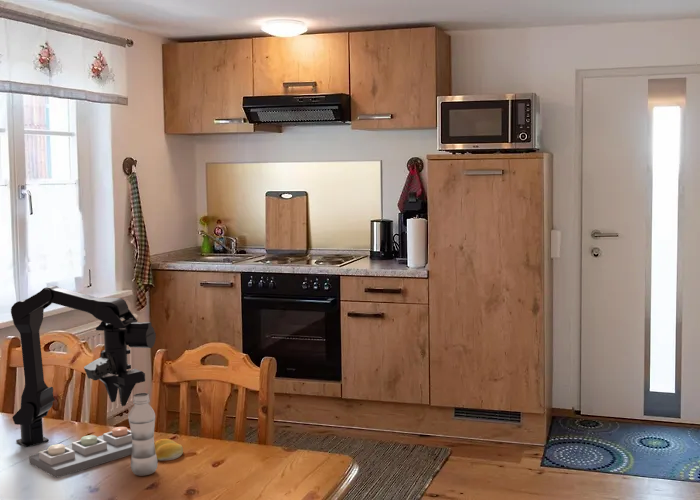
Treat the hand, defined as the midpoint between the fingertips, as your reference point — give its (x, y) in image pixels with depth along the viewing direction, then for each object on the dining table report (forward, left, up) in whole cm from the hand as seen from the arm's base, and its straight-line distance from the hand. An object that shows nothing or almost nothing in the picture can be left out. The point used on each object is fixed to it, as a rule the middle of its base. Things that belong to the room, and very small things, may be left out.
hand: (118, 403), depth 222 cm
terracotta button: (0, 0, -9) cm, 9 cm away
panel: (0, -9, -12) cm, 15 cm away
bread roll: (+14, +5, -12) cm, 19 cm away
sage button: (0, -9, -9) cm, 13 cm away
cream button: (0, -18, -9) cm, 20 cm away
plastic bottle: (+21, -6, -12) cm, 25 cm away
